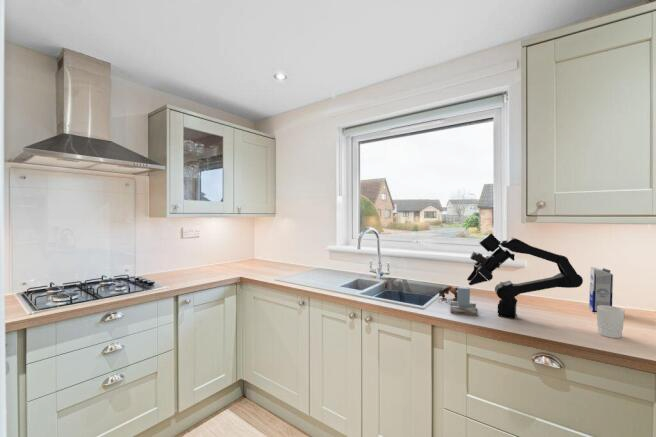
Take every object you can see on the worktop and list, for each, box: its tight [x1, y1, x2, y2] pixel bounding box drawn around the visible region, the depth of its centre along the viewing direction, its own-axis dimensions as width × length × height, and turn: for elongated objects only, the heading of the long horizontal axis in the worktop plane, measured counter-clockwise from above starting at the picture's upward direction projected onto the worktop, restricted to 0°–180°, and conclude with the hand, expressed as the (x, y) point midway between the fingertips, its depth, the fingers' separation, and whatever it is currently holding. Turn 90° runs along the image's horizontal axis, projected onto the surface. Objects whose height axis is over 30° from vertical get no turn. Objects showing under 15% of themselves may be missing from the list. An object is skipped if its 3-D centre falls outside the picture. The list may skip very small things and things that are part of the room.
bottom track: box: [449, 301, 478, 316], centre depth 149 cm, size 11×8×3 cm
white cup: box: [596, 305, 626, 339], centre depth 121 cm, size 8×8×10 cm
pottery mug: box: [438, 285, 458, 302], centre depth 168 cm, size 12×10×8 cm
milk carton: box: [588, 266, 614, 313], centre depth 148 cm, size 7×7×20 cm
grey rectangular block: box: [457, 286, 471, 307], centre depth 149 cm, size 5×4×10 cm
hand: (468, 282), depth 148 cm, fingers open, 9 cm apart
